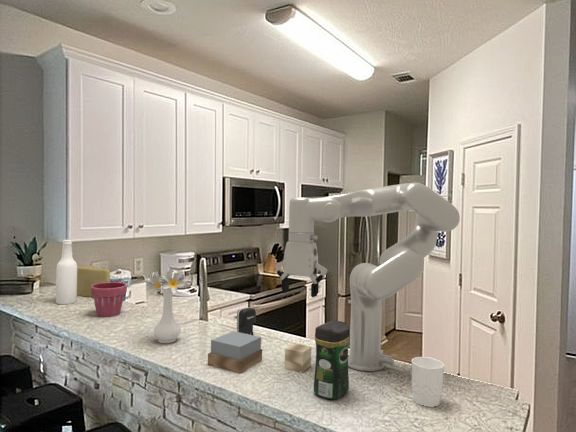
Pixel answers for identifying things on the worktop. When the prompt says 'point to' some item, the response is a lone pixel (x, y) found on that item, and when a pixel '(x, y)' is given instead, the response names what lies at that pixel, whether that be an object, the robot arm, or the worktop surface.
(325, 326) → the coffee jar
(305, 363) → the birch cube
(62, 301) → the alcohol
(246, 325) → the battery
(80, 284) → the cheese
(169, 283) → the flower vase
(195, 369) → the worktop surface
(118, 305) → the plant pot
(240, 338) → the tower top
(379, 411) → the worktop surface
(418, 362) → the white cup
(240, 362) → the tower base
